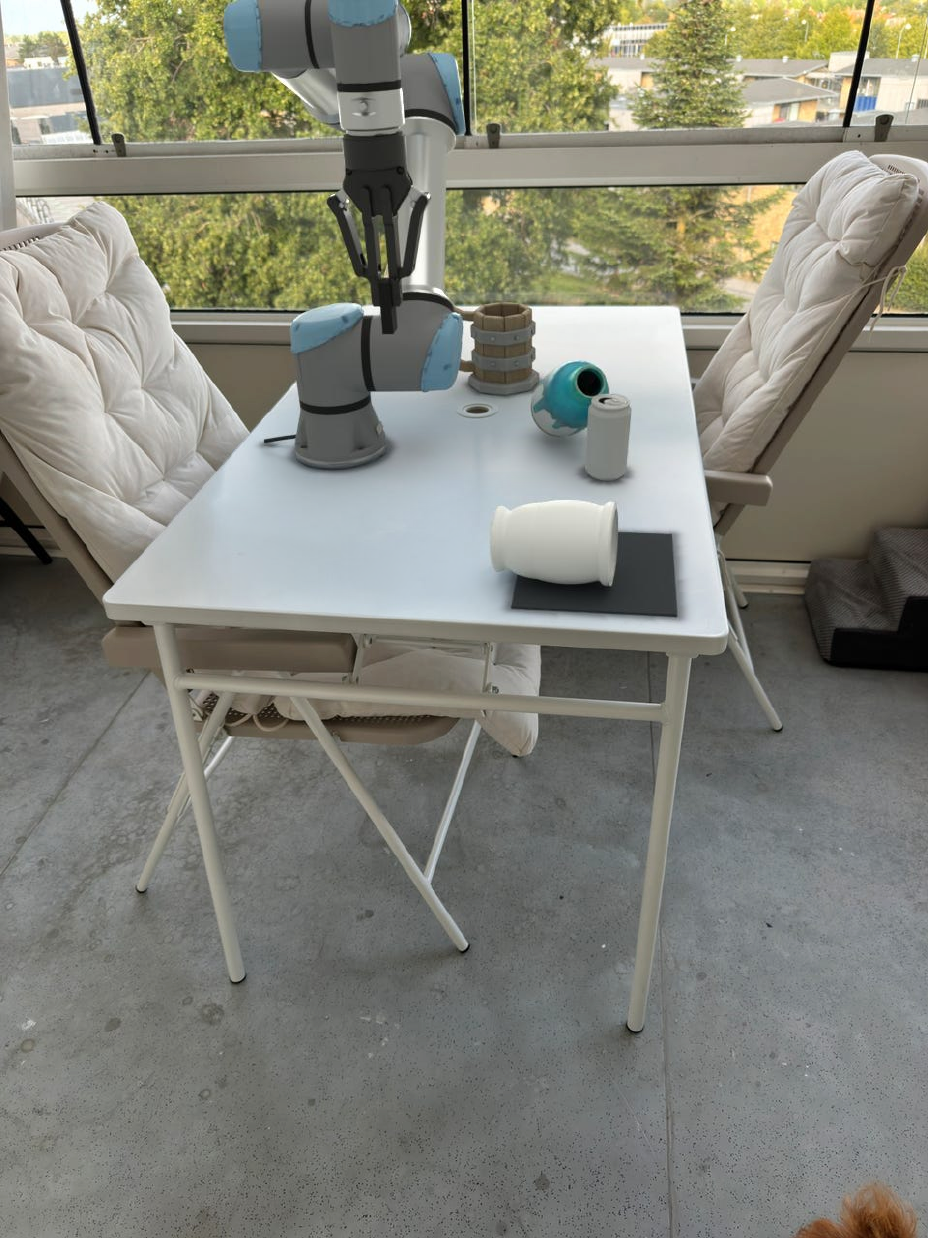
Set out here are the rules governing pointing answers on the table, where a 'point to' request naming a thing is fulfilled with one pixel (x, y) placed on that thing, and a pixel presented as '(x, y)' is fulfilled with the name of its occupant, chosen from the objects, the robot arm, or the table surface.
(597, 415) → the beverage can
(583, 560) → the jar
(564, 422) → the vase
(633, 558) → the mat
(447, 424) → the table surface
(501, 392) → the tankard
